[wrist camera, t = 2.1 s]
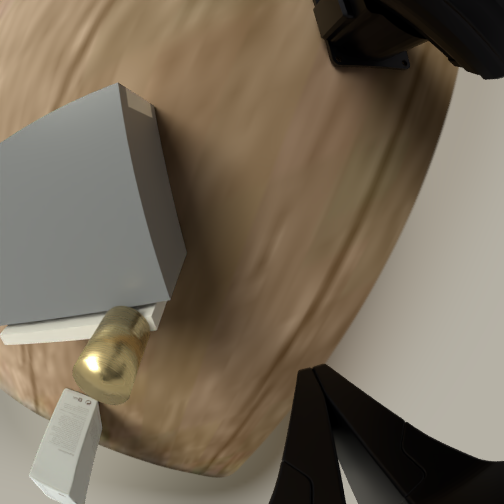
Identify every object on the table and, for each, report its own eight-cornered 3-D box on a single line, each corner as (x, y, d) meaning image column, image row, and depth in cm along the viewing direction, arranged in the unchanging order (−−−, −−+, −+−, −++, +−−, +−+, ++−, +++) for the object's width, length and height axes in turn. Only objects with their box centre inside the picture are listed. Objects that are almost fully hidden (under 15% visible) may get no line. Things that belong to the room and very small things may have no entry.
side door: (170, 252, 18) (119, 357, 8) (180, 284, 19) (147, 404, 9) (39, 281, 18) (-39, 358, 8) (51, 307, 19) (-17, 391, 9)
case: (153, 105, 15) (118, 82, 9) (187, 252, 19) (170, 299, 13) (2, 172, 15) (-53, 185, 9) (35, 286, 18) (-7, 326, 12)
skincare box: (63, 385, 22) (23, 473, 11) (101, 399, 23) (69, 495, 12) (72, 417, 24) (43, 496, 13) (105, 429, 25) (83, 513, 13)
